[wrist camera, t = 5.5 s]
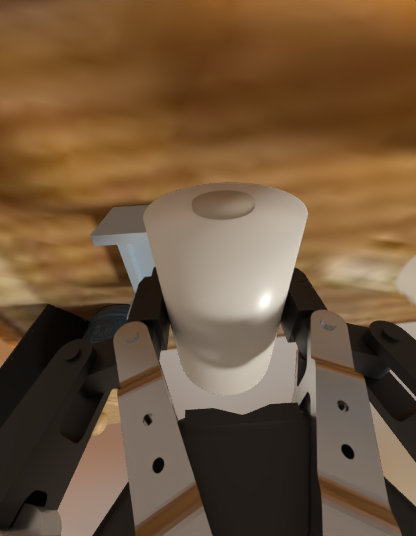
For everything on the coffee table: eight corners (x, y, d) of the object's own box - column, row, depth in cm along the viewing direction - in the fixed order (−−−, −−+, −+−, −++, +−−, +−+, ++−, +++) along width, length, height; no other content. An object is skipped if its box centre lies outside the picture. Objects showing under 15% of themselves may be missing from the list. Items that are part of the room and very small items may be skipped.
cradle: (190, 202, 27) (189, 229, 21) (198, 282, 36) (199, 318, 30) (113, 206, 27) (89, 236, 21) (140, 286, 36) (128, 322, 30)
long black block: (32, 323, 40) (-167, 590, 18) (48, 302, 37) (-169, 596, 15) (73, 339, 44) (-51, 577, 22) (91, 321, 41) (-33, 579, 19)
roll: (117, 201, 8) (210, 272, 4) (228, 171, 10) (344, 199, 7) (163, 342, 14) (219, 423, 10) (227, 301, 16) (289, 353, 13)
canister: (173, 327, 43) (163, 434, 29) (131, 349, 47) (104, 452, 33) (122, 291, 36) (76, 408, 22) (78, 322, 41) (17, 435, 27)
